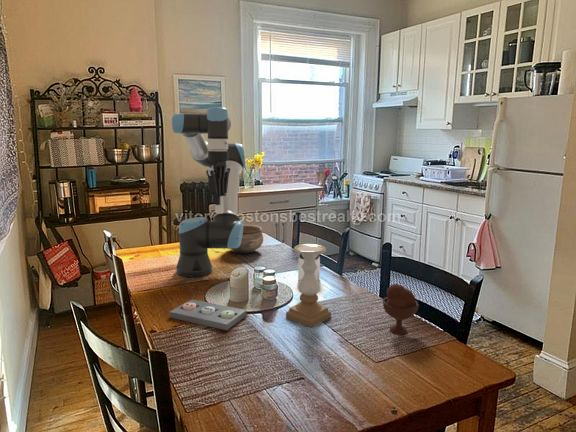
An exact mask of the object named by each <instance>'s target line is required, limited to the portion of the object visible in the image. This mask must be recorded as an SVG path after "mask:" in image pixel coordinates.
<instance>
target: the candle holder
mask: <svg viewBox="0 0 576 432" xmlns="http://www.w3.org/2000/svg"><path fill="white" fill-rule="evenodd" d="M326 249H327V248H326V247H325V246H324V245H320V244H315V243H303V244H301V243H300V244H297V245H295V246H294V247H293V250H294V252H295V253H296V254H302V256H303V258H304V263H303V265H302V269H303V271H304V276H303V278H302V279H301V280H299V283H298V285H297V290H298V292H299V293H301V294H300V295H299V302H298V303H296V304H295V305H293V306H291V307H289V309H288V311H286V312H285V318H286V319H289V320H291V321H294V322H295V323H298V324H301V325H303V326H306V327H308V328H312V327H314V326H316V325H319V324H321V323H323V322H325V321H327V320H329V319H330V318H332V312H331V311H329V308H328V307H327V306H324V305H322V304H320V303H319V302H318V300H319V296H318V293H319V292H320V290H321V285H320V282H319V279H318V280H317V279H316V277H315V274H314V273H315V271H316V269H317V265H316V263H315V259H316V257H317V256H318V254H319V255H322V254H324V253H325V252H326V251H327V250H326Z"/></svg>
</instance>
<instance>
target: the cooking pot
mask: <svg viewBox="0 0 576 432" xmlns="http://www.w3.org/2000/svg"><path fill="white" fill-rule="evenodd" d="M262 230H263V228H262V227H261V225H260V226H259V225H255V224H243V235H242V241H241V244H240V246H239V247H238V248H231V249H230V250H232V251H233V252H236V253H238V254H240V255H249V254H251V253H253V252H255V251H256V250H258V249H259V248H260V247H261V246H262V245H263V242H264V235H263V233H262Z"/></svg>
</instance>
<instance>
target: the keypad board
mask: <svg viewBox="0 0 576 432" xmlns="http://www.w3.org/2000/svg"><path fill="white" fill-rule="evenodd" d="M185 303H196V308H195V309H194V310H192V311H189V310H184V309H183V304H185ZM207 306H212V307H214V308H215V312H214V313H213V314H211V315H207V314H203V313H202V311H201V309H202V308H203V307H207ZM226 310H231V311H234V313H235V316H234V317H233V318H232V319H226V318H221V312H222V311H226ZM246 317H247V310H246V309H241V308H238V307H232V306H229V305H228V306H227V305H223V304H217V303H213V302H209V301H208V302H207V301H204V300H199V299H198V300H196V299H193V298H192V299H190V300H188V301H186V302H184V303H181V305H179V306H177V307H176V308H173V309H172V310H170V311H169V318H172V319H175V320H180V321H185V322H189V323H192V324H193V323H194V324H197V325H202V326H206V327H211V328H214V329H219V330H224V331H228V330H230V329H231V328H232V327H234V326H235V325H236V324H238V323H239V322H240V321H242V320H243V319H244V318H246Z"/></svg>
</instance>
